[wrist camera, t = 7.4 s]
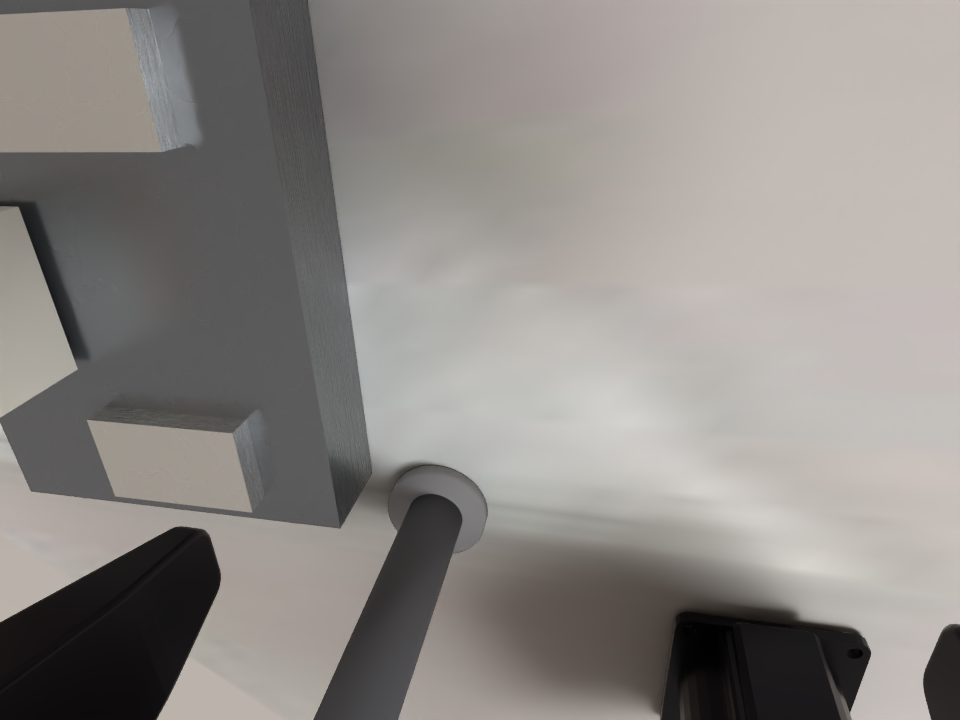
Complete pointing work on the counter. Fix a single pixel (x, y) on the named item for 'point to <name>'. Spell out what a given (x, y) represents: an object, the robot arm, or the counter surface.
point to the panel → (183, 257)
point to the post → (404, 592)
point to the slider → (26, 320)
